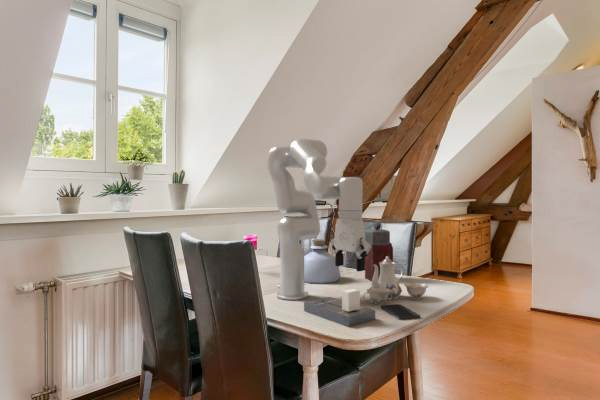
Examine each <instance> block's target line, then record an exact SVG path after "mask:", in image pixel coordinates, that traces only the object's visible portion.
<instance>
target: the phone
mask: <svg viewBox="0 0 600 400" xmlns="http://www.w3.org/2000/svg"><path fill="white" fill-rule="evenodd" d="M380 310H382V311H384V312H386V313H388V314H389V315H390V316H392V317H393V318H395V319H397V320H398V321H408V320H409V321H410V320H419V319H421V315H420V314H418V313H416V312H414V311H413V310H411V309H409V308H407V307H406V306H404V305H401V304H398V303H397V304H387V305H384V304H382V305H380Z"/></svg>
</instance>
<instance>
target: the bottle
mask: <svg viewBox="0 0 600 400" xmlns="http://www.w3.org/2000/svg"><path fill="white" fill-rule="evenodd" d="M311 240H312V245H311V246H310V247H309V248H310V249H312V251H311V252H309V253H307V254H304V283H307V284H319V285H320V284H323V285H324V284H325V285H326V284H331V283H335V282H337V281H338V280H340V278H341V271H340V270H341V269H340V266H335V255H334V254H331V253H330V252H327V251H326V249H328V248H329V246H328V245H327V244H326V239H324V238H320V239H319V238H314V239H311Z"/></svg>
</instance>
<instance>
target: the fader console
mask: <svg viewBox="0 0 600 400" xmlns="http://www.w3.org/2000/svg"><path fill="white" fill-rule="evenodd" d="M303 312H306V313H307V314H311V315H314V316H316V317H320V318H322V319H325V320H329V321H330V322H334V323H336V324H339V325H342V326H344V327H347V328H349V327H353V326H357V325H361V324H364V323H368V322H371V321H376V310H375V309H372V308H369V307H365V306H363V305H360V309H357V310H353V311H349V312H348V311H345V310H342V299H338V298H336V297H332V296H329V297H324V298H319V299H314V300H313V299H312V300H309V301H304V302H303Z"/></svg>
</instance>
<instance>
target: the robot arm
mask: <svg viewBox="0 0 600 400" xmlns="http://www.w3.org/2000/svg"><path fill="white" fill-rule="evenodd" d="M327 156H328V148H327V145H326V143H324V142H323V141H322V140H319V139H308V138H298V139H295V140H294V141H292V143H291V144H290V145H289V146H288V145H279V146H274V147H272V148H271V149H270V150H269V151H268V154H267V162H266V163H267V169H268V171H269V175H270V178H271V180H272V183H273V188H274V195H275V201H276V206H277V209H278V211H279V213H281V214H283V215H293V216H286V217H283V218H282V219H280V220H279V221H278V223H277V227H276V229H277V237H278V241H279V259H280V260H279V261H280V262H279V266H280V268H279V270H280V271H279V272H280V273H279V276H280V280H279V281H280V282H279V284H277V285H276V287H277V288H278V289H279V291H277V293H276V298H278V299H281V300H285V301H286V300H287V301H288V300H289V301H290V300H291V301H296V300H304V299H306V298H308V297H309V292H308V291H306V290H305V282H304V256H305V251H304V248H303V246H302V245H301V243H300V241H304V240H305V241H306V240H307V241H308V240H314V239H317V237H319V235H320V231H321V224H320V218H319V213H318V208H317V204H316V199H315V198H317V199H320V200H338V211H337V214H338V218H337V219H336V222H335V223H336V224H335V227H334V228H335V229H334V237H333V238H331V240H330V243H331V246H332V247H331V248H332V249H333V255H334V256H335V266H339V267H342V266H344V257H345V255H344V254H345V253H343V252H349V253H355V255H356V257H357V258H356V263H355V264H356V266H355V267H356V268H355V269H356V272H365V258H367V255H368V254H369V251H370V249H371V245H370V244H368V243H367V242H366V241H365V225H364V221H363V186H364V185H363V180H362V178H361V177H357V176H346V177H345V176H325V175H324V176H323V175H321V174H322V173H323V172H324V170H325V169H326V166H327V159H326V157H327ZM287 168H294V169H295V168H297V169H302V170H303V181H304V182H303V183H304V185H305V188H306V189H307V190H298V189H297V188H296V184H295V180H294V177H293V176H292V174H291V173H290V171H288V170H287ZM298 214H299V215H298ZM295 215H297V216H295ZM300 215H301V216H300Z"/></svg>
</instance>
